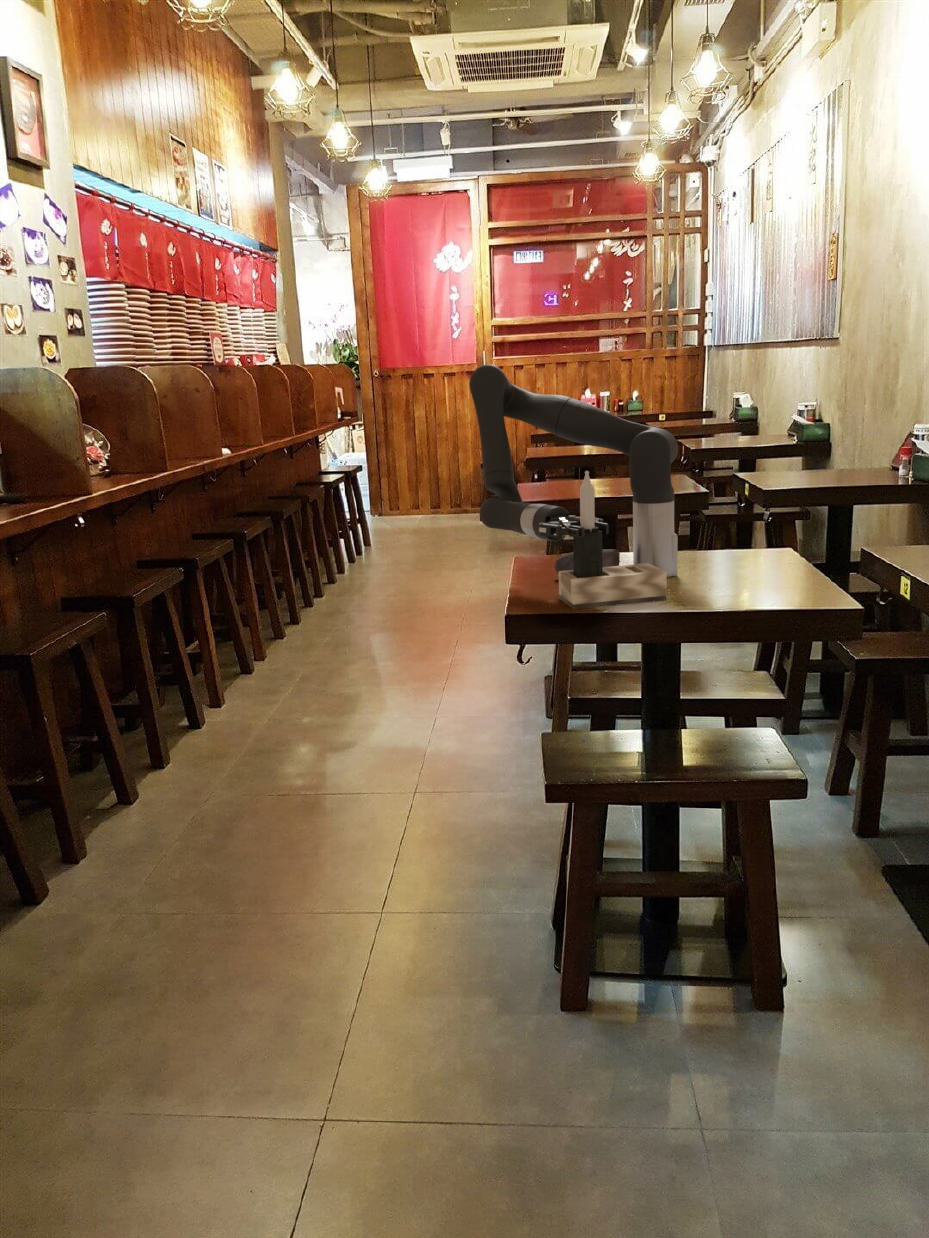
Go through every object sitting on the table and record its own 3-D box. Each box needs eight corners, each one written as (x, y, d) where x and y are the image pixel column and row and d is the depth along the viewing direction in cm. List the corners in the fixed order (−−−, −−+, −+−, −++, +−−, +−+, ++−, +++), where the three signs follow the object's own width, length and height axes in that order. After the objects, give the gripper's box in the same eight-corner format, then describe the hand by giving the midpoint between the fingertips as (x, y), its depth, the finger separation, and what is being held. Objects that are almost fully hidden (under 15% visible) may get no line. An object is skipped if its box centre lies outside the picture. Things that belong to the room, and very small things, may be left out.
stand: (648, 590, 209) (648, 563, 207) (666, 600, 199) (666, 571, 198) (559, 598, 205) (558, 571, 204) (573, 609, 195) (573, 580, 194)
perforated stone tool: (552, 581, 223) (552, 551, 221) (556, 576, 228) (556, 547, 226) (618, 581, 219) (617, 551, 217) (620, 577, 224) (620, 547, 222)
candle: (581, 595, 198) (580, 472, 191) (572, 590, 202) (570, 470, 196) (604, 592, 199) (603, 471, 193) (594, 587, 204) (593, 468, 197)
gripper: (517, 508, 205) (567, 516, 191) (571, 501, 212) (622, 508, 198) (518, 543, 206) (568, 554, 193) (571, 534, 214) (622, 544, 200)
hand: (595, 531), depth 195 cm, fingers closed on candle, 5 cm apart
